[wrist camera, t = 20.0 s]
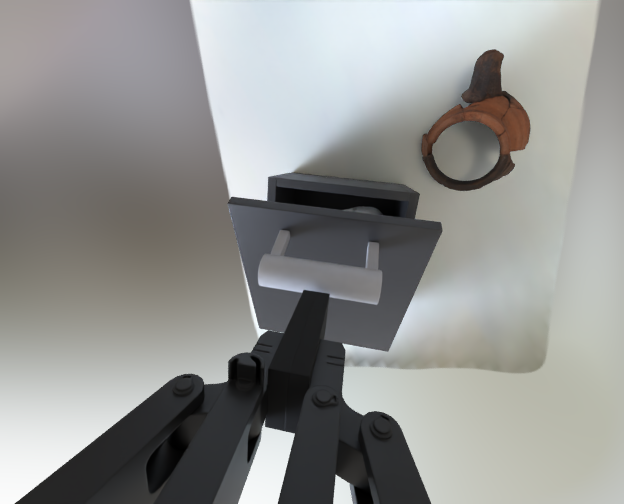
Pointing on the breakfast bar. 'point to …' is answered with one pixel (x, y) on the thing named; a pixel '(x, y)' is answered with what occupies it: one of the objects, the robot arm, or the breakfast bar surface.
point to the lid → (332, 265)
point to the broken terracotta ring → (483, 122)
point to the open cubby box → (343, 194)
